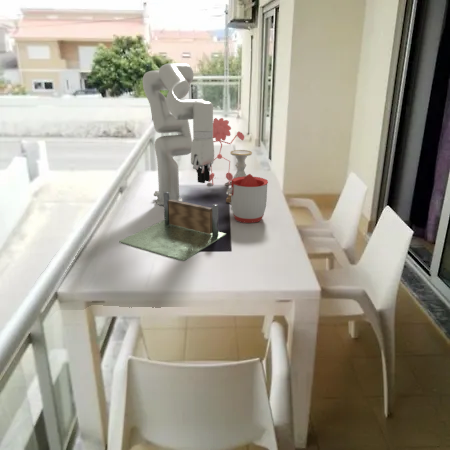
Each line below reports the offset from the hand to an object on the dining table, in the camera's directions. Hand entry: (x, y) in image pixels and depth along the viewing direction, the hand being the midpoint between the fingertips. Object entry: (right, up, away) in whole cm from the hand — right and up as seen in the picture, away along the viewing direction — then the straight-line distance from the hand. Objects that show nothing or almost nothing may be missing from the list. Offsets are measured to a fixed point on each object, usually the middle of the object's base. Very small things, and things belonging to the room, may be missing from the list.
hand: (203, 181), depth 173 cm
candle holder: (+16, -6, +39) cm, 43 cm away
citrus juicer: (+18, -15, +15) cm, 28 cm away
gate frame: (-11, -23, -5) cm, 26 cm away
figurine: (+5, +7, +72) cm, 72 cm away
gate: (-5, -19, +2) cm, 20 cm away
